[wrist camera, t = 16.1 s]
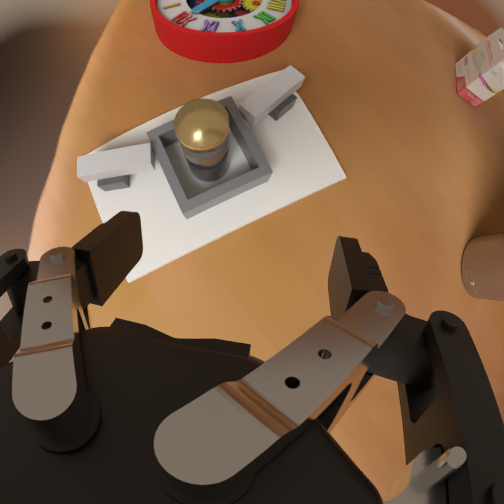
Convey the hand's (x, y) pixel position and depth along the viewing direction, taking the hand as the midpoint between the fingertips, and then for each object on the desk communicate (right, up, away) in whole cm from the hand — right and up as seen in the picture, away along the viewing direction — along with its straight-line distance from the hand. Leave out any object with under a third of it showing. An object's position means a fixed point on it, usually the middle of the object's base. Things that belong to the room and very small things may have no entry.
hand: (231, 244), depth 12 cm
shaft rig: (-4, +10, +21) cm, 24 cm away
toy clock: (-3, +34, +23) cm, 41 cm away
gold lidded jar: (-4, +9, +20) cm, 23 cm away
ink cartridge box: (+39, +30, +27) cm, 55 cm away
